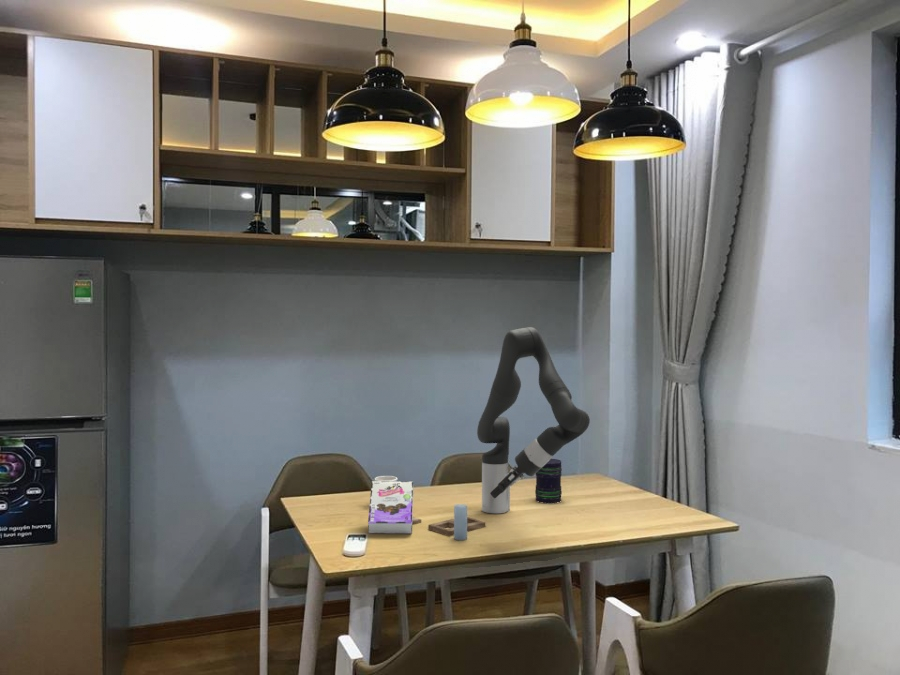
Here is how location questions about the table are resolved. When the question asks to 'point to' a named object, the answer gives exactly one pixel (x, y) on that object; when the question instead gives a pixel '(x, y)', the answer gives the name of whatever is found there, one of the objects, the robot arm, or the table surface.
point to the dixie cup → (386, 479)
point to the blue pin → (460, 522)
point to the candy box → (391, 507)
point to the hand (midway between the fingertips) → (496, 493)
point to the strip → (415, 520)
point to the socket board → (442, 525)
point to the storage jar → (549, 482)
